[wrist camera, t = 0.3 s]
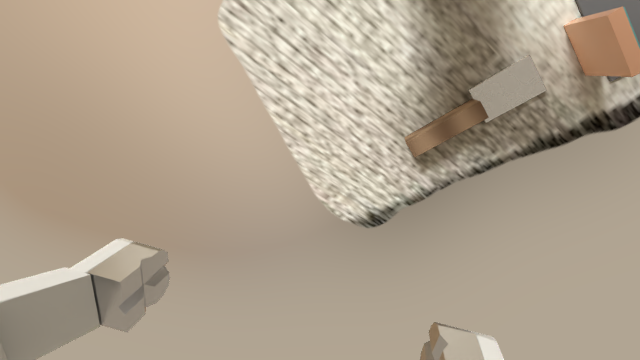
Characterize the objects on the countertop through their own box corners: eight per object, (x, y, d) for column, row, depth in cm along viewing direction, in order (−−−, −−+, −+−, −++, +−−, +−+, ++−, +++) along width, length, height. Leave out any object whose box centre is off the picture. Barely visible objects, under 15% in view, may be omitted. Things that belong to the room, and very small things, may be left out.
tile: (585, 75, 43) (632, 76, 35) (563, 25, 42) (607, 15, 34) (599, 68, 43) (650, 67, 34) (577, 17, 41) (626, 4, 33)
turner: (416, 158, 52) (419, 165, 48) (399, 129, 51) (401, 134, 47) (543, 90, 45) (559, 92, 41) (527, 55, 44) (541, 53, 40)
